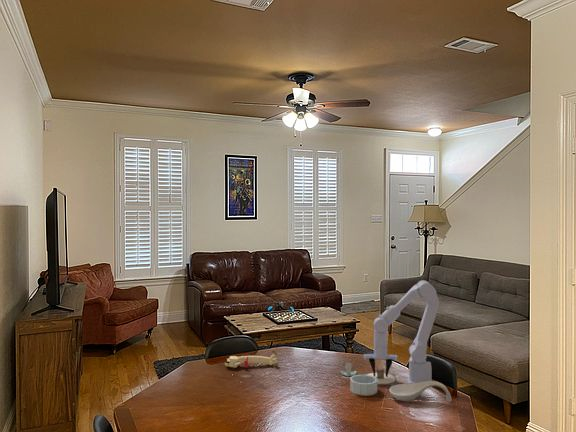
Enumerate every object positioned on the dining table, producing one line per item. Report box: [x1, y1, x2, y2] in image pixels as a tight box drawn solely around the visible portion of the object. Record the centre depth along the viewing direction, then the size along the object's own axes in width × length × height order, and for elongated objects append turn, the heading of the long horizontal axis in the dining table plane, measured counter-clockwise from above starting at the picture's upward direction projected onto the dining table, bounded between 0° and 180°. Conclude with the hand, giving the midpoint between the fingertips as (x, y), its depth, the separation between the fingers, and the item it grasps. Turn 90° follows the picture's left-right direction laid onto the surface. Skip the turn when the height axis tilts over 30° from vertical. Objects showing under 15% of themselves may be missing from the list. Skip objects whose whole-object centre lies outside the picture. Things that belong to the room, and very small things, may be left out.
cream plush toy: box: [224, 349, 278, 369], centre depth 226 cm, size 10×9×25 cm
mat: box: [363, 372, 399, 386], centre depth 207 cm, size 14×14×1 cm
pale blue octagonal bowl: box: [349, 374, 378, 396], centre depth 194 cm, size 11×11×5 cm
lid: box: [367, 368, 397, 384], centre depth 207 cm, size 13×13×4 cm
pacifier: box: [340, 362, 357, 379], centre depth 211 cm, size 7×6×6 cm
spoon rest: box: [389, 380, 452, 403], centre depth 186 cm, size 24×12×7 cm, turn 85°
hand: (380, 375), depth 207 cm, fingers open, 5 cm apart
